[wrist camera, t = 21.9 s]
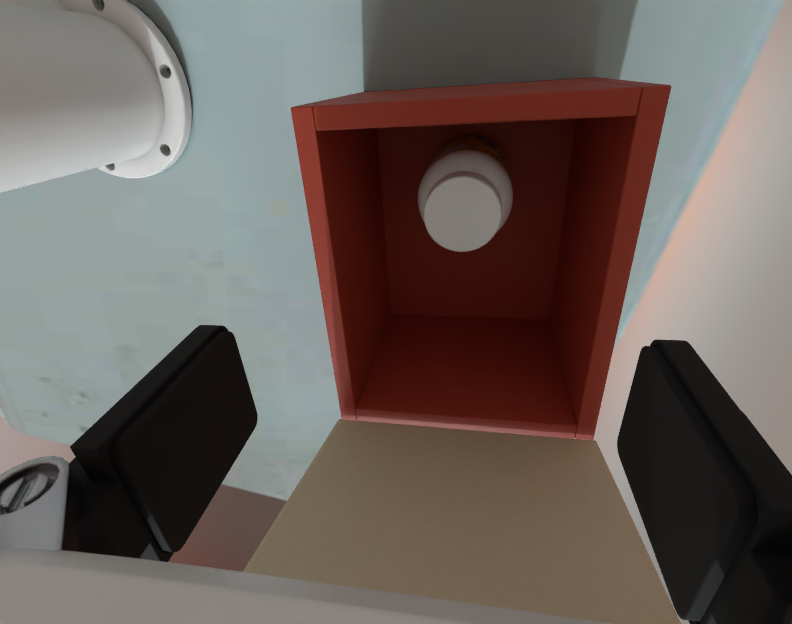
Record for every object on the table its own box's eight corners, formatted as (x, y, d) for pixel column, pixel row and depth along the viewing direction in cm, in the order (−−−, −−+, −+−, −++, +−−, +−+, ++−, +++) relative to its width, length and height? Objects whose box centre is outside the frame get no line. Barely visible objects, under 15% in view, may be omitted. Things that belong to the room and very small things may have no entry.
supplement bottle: (418, 156, 30) (390, 191, 22) (489, 116, 28) (488, 139, 20) (451, 223, 32) (437, 278, 24) (521, 190, 30) (532, 239, 22)
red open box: (363, 91, 30) (290, 107, 19) (595, 77, 27) (672, 84, 16) (383, 317, 38) (341, 419, 27) (559, 324, 36) (593, 440, 25)
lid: (56, 865, 9) (106, 1005, 10) (926, 1151, 6) (832, 1288, 8) (338, 418, 27) (343, 492, 28) (596, 440, 24) (586, 521, 25)
